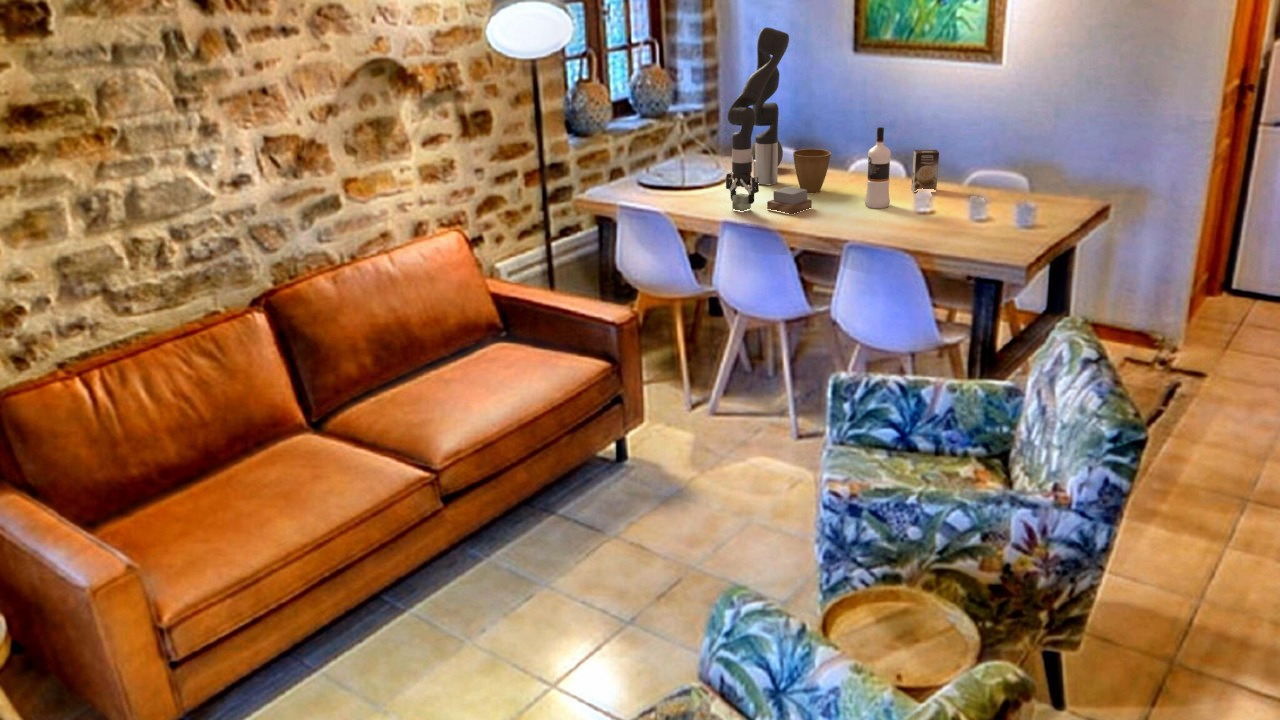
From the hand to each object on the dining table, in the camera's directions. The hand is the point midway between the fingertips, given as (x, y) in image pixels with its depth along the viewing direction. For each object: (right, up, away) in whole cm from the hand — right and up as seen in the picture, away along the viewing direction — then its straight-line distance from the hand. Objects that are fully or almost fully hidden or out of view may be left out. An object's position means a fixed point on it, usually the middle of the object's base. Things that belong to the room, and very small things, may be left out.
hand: (742, 202), depth 410 cm
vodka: (+52, -2, -1) cm, 52 cm away
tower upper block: (+18, 0, -2) cm, 18 cm away
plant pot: (+30, +8, +24) cm, 39 cm away
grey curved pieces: (+17, +23, +63) cm, 69 cm away
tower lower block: (+18, -3, 0) cm, 18 cm away
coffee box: (+74, +7, +17) cm, 76 cm away
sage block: (0, -3, +2) cm, 3 cm away
